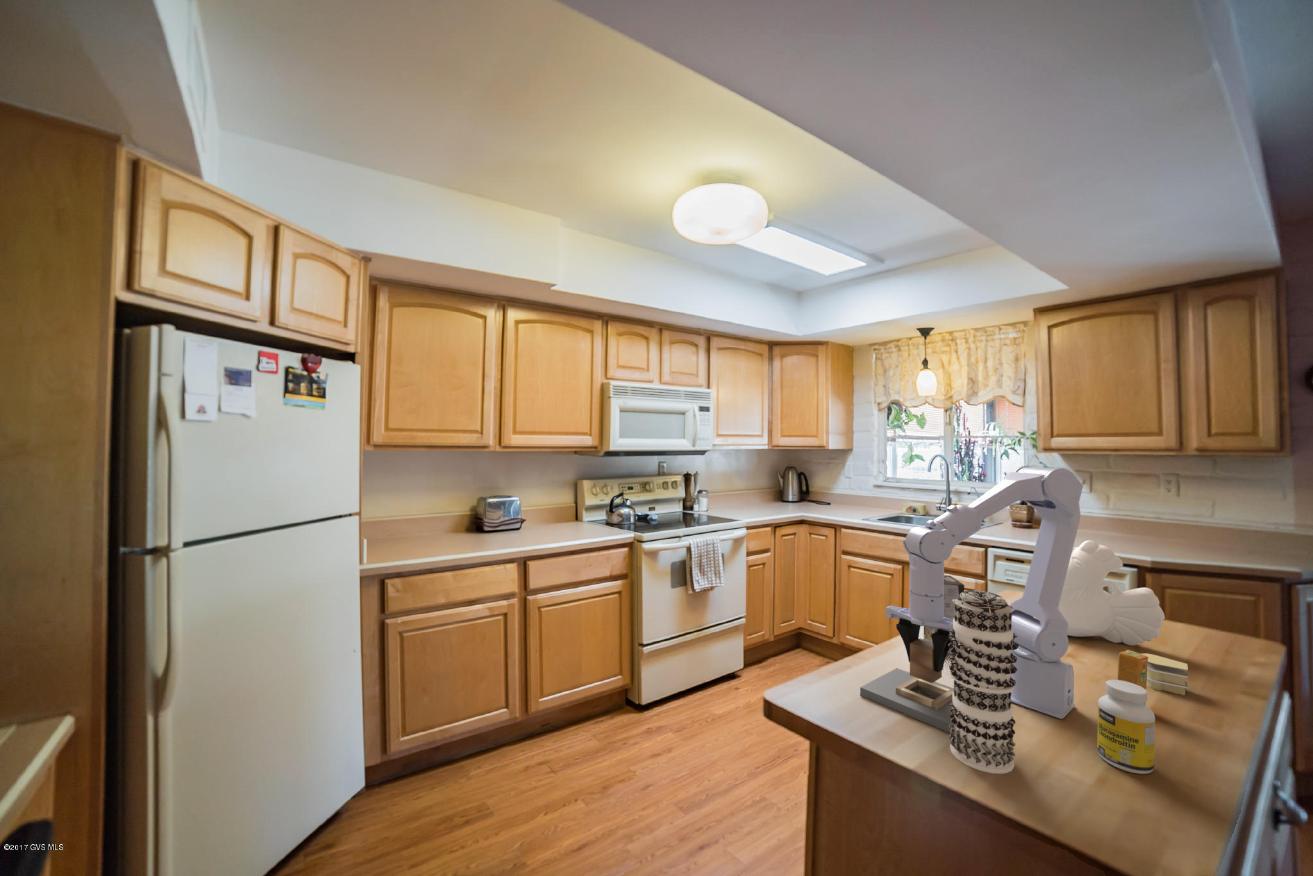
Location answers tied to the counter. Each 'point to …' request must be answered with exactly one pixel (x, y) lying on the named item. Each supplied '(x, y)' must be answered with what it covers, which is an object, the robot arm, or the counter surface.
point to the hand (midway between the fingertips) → (925, 665)
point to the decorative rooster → (1106, 600)
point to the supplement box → (1133, 668)
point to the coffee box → (947, 602)
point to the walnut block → (923, 661)
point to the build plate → (912, 697)
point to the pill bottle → (1126, 728)
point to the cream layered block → (1166, 674)
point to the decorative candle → (982, 682)
